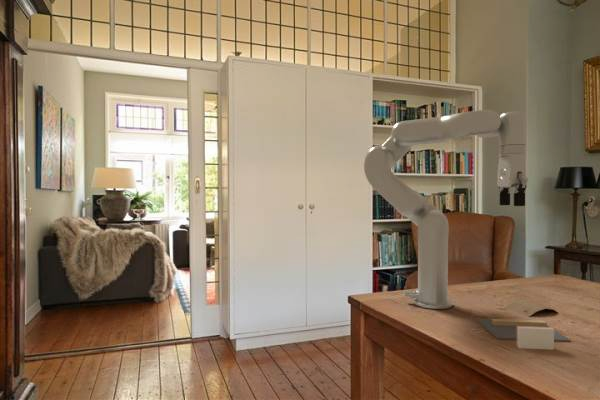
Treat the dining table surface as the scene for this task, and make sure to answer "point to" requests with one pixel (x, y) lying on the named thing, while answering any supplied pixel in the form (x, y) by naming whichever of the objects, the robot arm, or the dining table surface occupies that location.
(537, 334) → the tile
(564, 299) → the dining table surface
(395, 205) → the robot arm
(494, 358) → the dining table surface
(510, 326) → the mat
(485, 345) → the dining table surface
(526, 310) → the clay tablet
